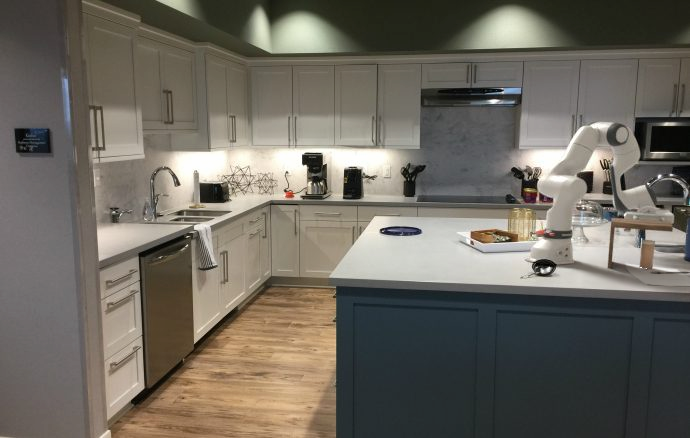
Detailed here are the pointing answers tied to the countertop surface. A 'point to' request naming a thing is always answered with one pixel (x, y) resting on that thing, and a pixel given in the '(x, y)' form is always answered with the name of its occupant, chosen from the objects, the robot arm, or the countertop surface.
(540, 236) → the cupcake
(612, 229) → the shelf
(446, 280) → the countertop surface
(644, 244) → the jar
